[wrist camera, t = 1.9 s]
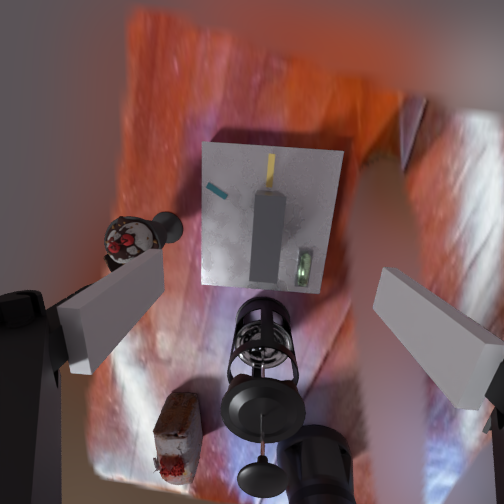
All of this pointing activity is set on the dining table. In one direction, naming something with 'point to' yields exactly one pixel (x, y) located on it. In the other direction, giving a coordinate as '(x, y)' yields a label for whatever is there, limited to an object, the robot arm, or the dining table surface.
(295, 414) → the french press
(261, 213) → the dark grey rectangular block
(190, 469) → the food item
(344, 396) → the dining table surface
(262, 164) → the base
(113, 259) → the sundae
